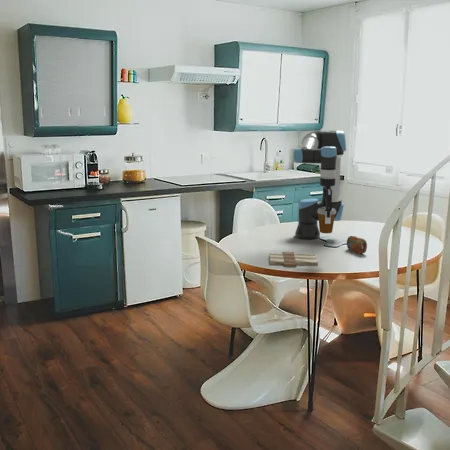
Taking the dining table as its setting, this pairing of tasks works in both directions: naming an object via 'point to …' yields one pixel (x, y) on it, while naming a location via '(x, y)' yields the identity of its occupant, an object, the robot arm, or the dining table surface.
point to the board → (292, 259)
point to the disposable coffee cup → (321, 215)
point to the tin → (356, 244)
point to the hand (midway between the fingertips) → (326, 221)
